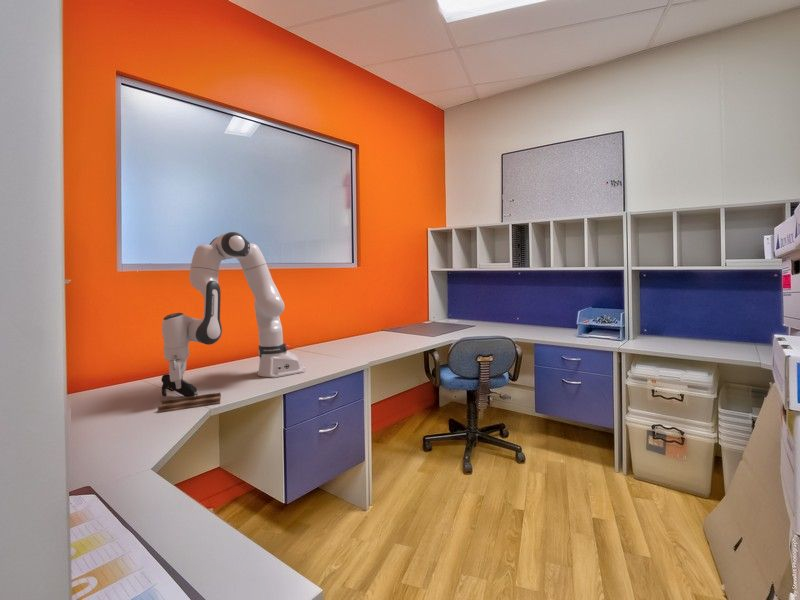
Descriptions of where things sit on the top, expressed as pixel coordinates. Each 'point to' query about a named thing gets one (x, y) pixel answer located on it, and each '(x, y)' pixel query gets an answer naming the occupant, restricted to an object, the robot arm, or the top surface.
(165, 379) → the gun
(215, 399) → the walnut stand
